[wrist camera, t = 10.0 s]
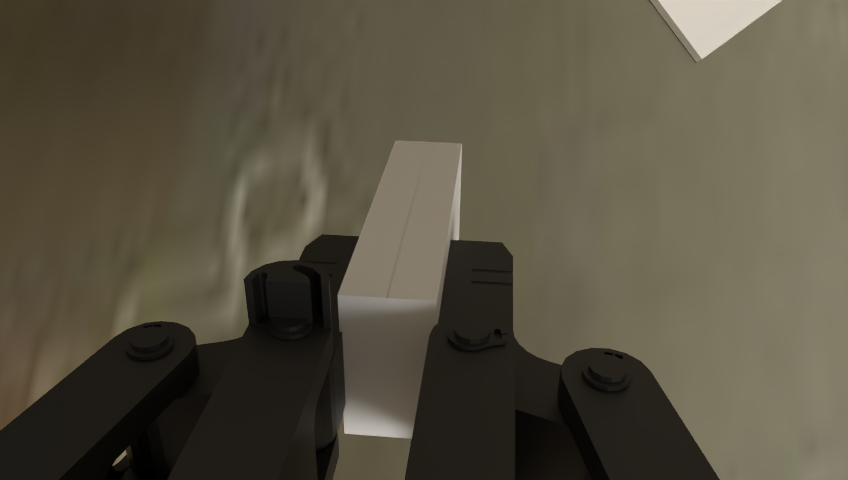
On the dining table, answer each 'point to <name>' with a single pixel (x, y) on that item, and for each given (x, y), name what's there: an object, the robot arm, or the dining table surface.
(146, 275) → the dining table surface
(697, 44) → the mat
